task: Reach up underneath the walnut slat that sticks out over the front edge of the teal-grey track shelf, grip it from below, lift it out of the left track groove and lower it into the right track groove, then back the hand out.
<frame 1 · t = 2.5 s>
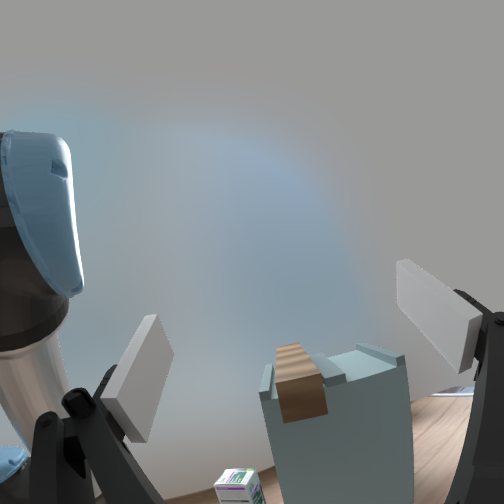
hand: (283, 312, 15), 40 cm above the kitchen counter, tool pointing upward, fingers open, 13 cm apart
walnut slat: (296, 383, 37), point 30 cm above the kitchen counter, touching track shelf
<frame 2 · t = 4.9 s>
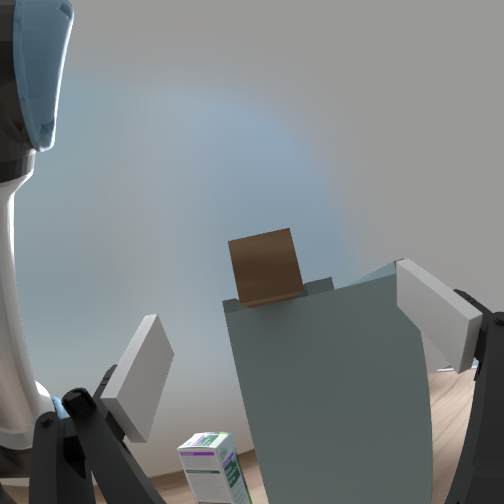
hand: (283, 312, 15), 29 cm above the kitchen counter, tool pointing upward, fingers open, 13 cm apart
walnut slat: (274, 306, 32), point 30 cm above the kitchen counter, touching track shelf
track shelf: (345, 496, 30), on the kitchen counter
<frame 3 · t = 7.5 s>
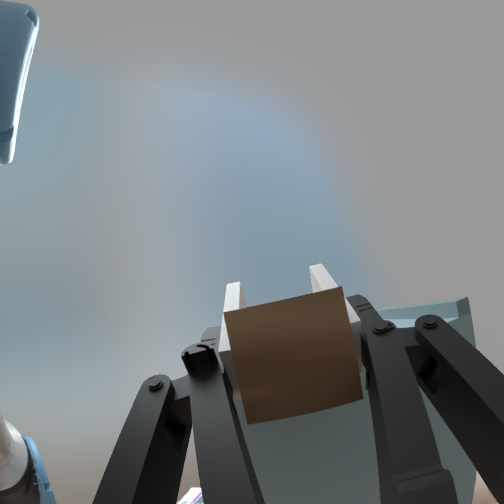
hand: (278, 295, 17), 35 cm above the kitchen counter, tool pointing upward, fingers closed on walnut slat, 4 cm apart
walnut slat: (291, 357, 23), point 30 cm above the kitchen counter, touching gripper, track shelf
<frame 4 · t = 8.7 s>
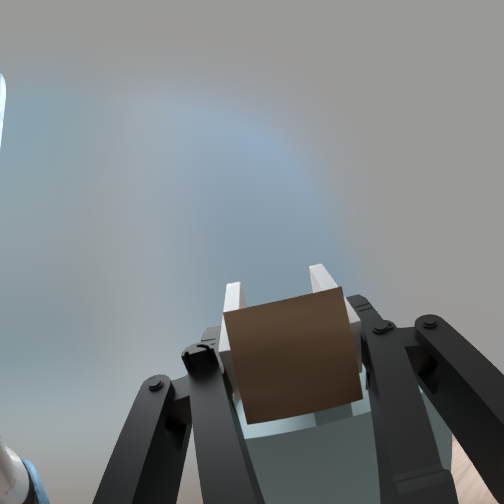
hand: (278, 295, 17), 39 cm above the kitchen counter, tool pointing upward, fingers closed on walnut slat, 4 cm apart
walnut slat: (290, 357, 23), point 34 cm above the kitchen counter, touching gripper
when the fingers open (36 cm above the kitchen counter, at t = 10.3 s): walnut slat stays where it is, resting on track shelf.
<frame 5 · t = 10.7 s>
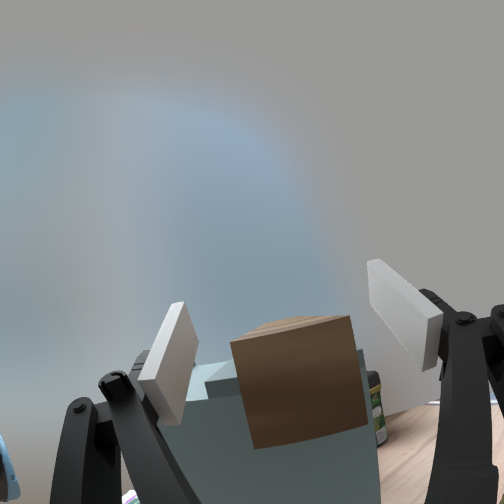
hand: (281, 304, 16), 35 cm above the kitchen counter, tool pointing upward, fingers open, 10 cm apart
walnut slat: (293, 369, 23), point 30 cm above the kitchen counter, touching track shelf
coffee jar: (367, 443, 54), on the kitchen counter
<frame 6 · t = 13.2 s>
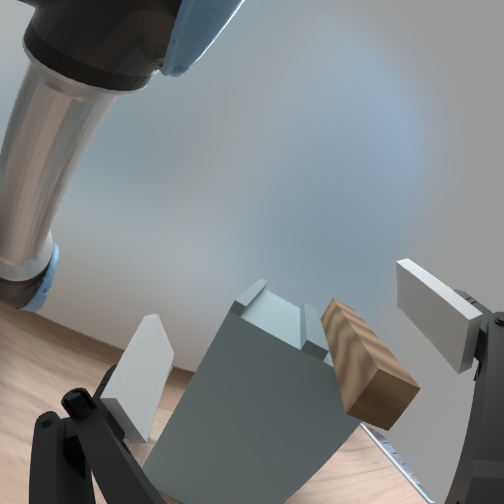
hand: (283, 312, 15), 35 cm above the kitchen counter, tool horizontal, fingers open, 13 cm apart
walnut slat: (343, 356, 32), point 30 cm above the kitchen counter, touching track shelf
track shelf: (210, 469, 40), on the kitchen counter
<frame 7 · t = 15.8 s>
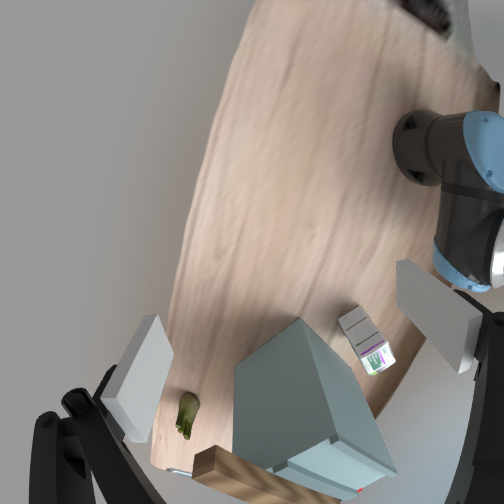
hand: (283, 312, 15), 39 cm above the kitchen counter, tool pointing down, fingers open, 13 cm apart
fennel bulb: (190, 397, 66), on the kitchen counter
walnut slat: (279, 485, 34), point 30 cm above the kitchen counter, touching track shelf
track shelf: (295, 368, 63), on the kitchen counter
syrup box: (353, 320, 60), on the kitchen counter
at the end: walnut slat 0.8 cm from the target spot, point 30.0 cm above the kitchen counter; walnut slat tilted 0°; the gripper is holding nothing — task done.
